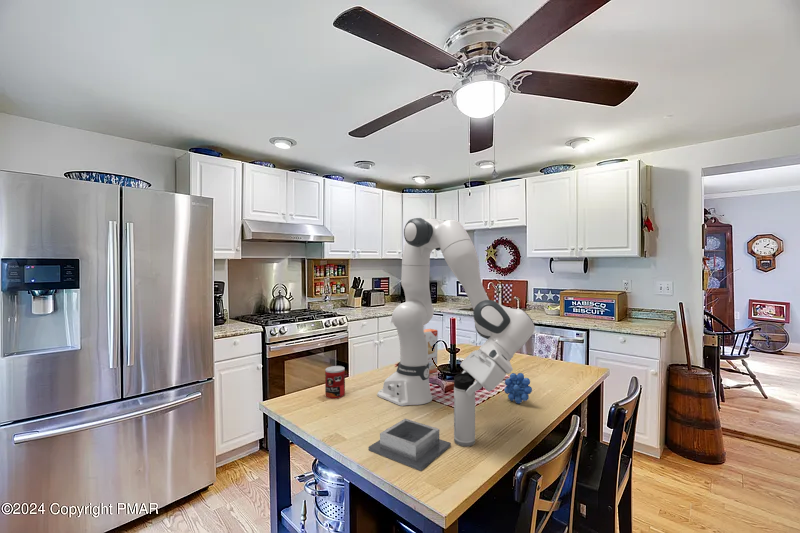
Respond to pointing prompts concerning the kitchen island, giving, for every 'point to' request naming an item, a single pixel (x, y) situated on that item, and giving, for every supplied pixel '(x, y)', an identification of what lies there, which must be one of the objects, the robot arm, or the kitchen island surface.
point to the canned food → (334, 382)
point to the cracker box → (431, 338)
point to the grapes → (517, 387)
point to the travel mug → (464, 411)
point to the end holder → (410, 444)
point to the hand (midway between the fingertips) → (462, 389)
